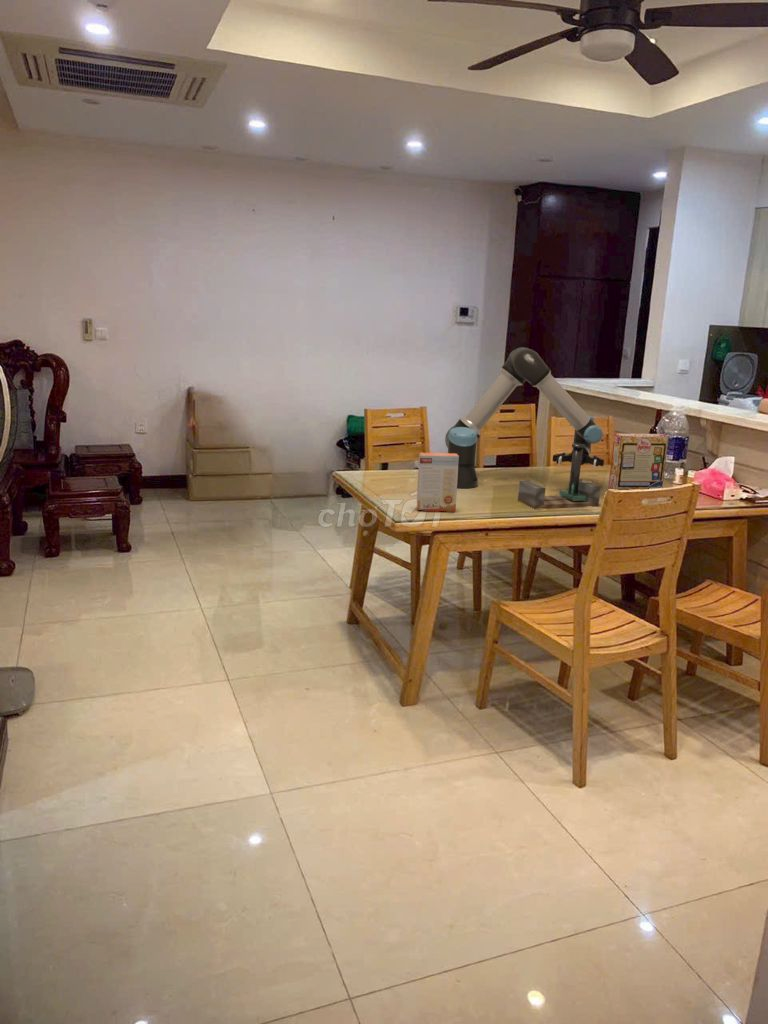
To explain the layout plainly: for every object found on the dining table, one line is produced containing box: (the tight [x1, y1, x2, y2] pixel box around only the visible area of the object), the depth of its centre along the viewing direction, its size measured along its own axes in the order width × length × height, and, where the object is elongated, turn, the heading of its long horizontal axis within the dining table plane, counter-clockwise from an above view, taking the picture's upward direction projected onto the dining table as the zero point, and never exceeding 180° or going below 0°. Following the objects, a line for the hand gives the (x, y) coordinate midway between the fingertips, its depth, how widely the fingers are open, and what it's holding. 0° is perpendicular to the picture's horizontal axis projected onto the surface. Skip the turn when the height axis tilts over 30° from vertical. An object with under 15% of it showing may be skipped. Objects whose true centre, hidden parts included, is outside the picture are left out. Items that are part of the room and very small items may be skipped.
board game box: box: [607, 433, 670, 490], centre depth 301 cm, size 20×6×27 cm, turn 98°
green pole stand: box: [558, 443, 587, 501], centre depth 294 cm, size 6×10×21 cm, turn 18°
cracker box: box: [416, 452, 459, 513], centre depth 275 cm, size 14×6×21 cm, turn 92°
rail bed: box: [517, 478, 601, 510], centre depth 294 cm, size 28×13×8 cm, turn 108°
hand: (576, 464), depth 301 cm, fingers open, 13 cm apart
